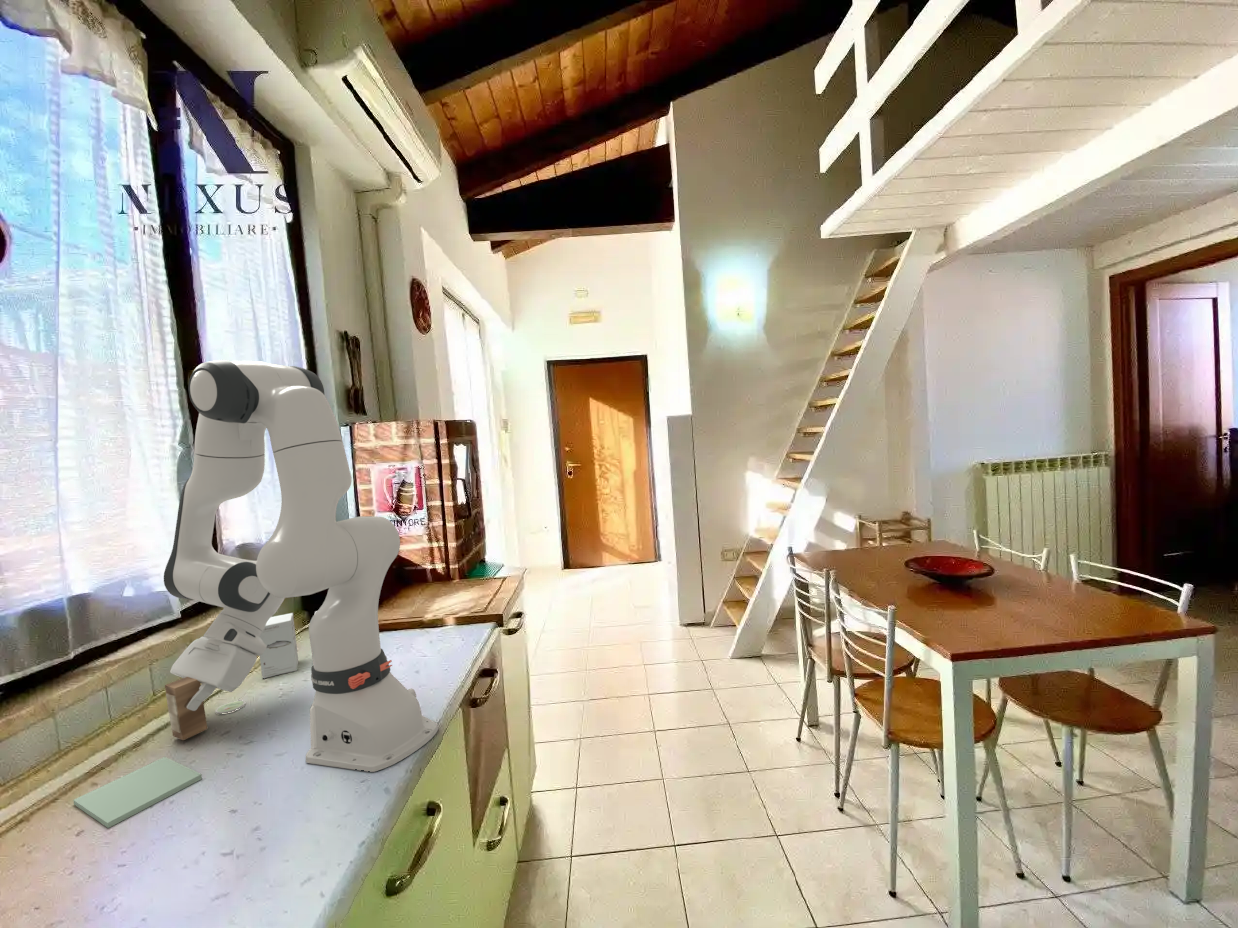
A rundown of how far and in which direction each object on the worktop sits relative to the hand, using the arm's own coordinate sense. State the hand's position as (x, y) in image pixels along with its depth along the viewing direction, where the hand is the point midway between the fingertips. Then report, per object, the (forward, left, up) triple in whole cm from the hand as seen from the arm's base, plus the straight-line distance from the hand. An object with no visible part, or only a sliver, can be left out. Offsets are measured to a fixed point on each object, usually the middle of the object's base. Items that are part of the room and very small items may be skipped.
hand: (182, 707), depth 104 cm
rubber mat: (-12, +11, -6) cm, 17 cm away
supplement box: (+14, -26, -6) cm, 30 cm away
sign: (+8, -14, -7) cm, 17 cm away
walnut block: (0, -1, -5) cm, 5 cm away
